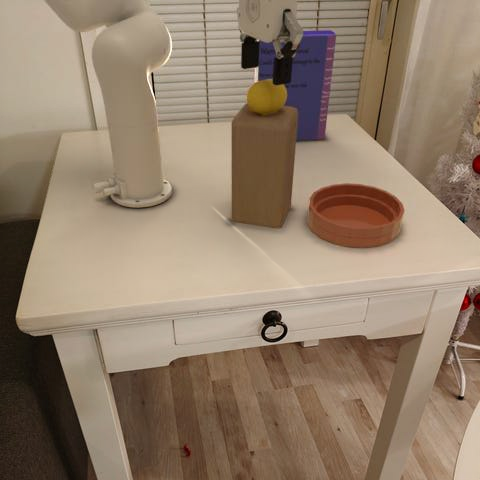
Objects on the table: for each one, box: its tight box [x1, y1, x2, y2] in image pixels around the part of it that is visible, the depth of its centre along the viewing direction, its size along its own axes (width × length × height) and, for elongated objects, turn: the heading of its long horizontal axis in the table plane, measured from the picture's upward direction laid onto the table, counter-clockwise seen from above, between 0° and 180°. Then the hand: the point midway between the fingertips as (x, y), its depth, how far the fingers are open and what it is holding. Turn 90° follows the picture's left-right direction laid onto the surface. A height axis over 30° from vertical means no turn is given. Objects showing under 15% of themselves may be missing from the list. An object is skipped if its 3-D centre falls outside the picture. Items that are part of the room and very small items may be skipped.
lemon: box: [245, 79, 287, 116], centre depth 91 cm, size 8×5×5 cm
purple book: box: [253, 29, 337, 142], centre depth 128 cm, size 17×5×24 cm, turn 98°
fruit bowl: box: [306, 182, 405, 249], centre depth 101 cm, size 17×17×4 cm
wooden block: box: [231, 102, 298, 229], centre depth 99 cm, size 10×10×20 cm
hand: (265, 75), depth 88 cm, fingers open, 9 cm apart
